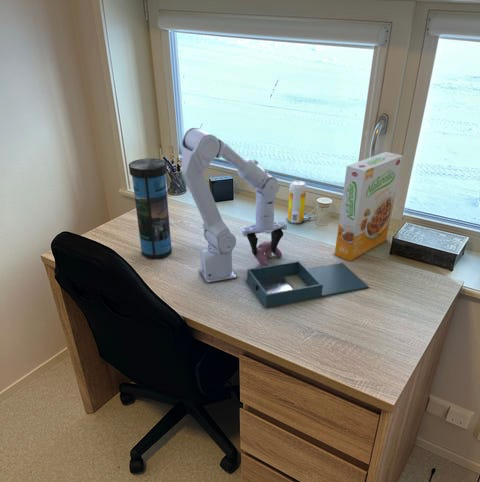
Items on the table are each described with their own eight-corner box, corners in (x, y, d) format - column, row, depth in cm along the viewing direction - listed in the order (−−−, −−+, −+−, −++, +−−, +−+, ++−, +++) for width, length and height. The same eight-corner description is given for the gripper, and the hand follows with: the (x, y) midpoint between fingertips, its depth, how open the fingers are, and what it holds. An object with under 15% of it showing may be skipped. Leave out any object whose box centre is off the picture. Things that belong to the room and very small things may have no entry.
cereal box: (350, 260, 152) (364, 170, 136) (334, 254, 156) (346, 166, 139) (385, 240, 166) (403, 155, 149) (370, 234, 169) (385, 151, 153)
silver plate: (270, 304, 131) (270, 303, 131) (254, 282, 141) (255, 282, 141) (300, 298, 133) (300, 297, 133) (282, 277, 143) (282, 277, 143)
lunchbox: (263, 308, 129) (264, 295, 127) (245, 281, 141) (245, 269, 139) (368, 287, 138) (370, 275, 136) (342, 264, 150) (343, 252, 148)
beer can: (303, 217, 182) (306, 180, 173) (303, 224, 177) (306, 186, 168) (287, 217, 182) (290, 179, 174) (287, 223, 177) (290, 185, 169)
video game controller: (273, 257, 157) (266, 238, 155) (283, 255, 154) (276, 236, 152) (256, 269, 151) (249, 249, 149) (267, 267, 147) (259, 247, 145)
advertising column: (180, 250, 158) (173, 162, 141) (158, 263, 150) (148, 172, 133) (155, 242, 163) (146, 156, 146) (132, 254, 155) (120, 165, 139)
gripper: (247, 221, 137) (247, 261, 144) (291, 214, 141) (289, 254, 148) (239, 212, 142) (239, 251, 150) (282, 206, 146) (280, 244, 154)
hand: (263, 252), depth 150 cm, fingers open, 6 cm apart
